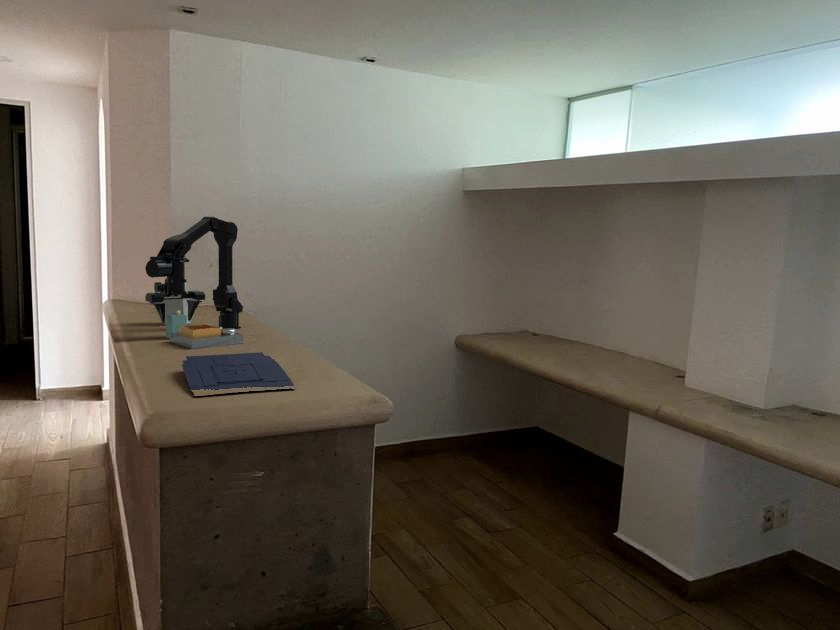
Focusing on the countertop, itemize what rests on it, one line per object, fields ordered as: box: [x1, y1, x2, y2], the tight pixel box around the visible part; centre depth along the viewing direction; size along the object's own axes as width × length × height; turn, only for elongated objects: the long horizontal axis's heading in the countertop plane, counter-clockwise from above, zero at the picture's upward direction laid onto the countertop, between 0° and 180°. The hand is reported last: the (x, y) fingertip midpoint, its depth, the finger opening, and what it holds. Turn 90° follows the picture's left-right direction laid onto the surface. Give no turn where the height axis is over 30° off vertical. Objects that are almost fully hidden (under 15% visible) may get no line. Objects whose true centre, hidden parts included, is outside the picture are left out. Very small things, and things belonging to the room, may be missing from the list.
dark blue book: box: [181, 351, 295, 391], centre depth 167 cm, size 24×30×4 cm
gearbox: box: [170, 323, 244, 350], centre depth 215 cm, size 18×15×6 cm
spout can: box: [165, 310, 188, 340], centre depth 222 cm, size 5×5×10 cm
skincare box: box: [163, 282, 192, 326], centre depth 249 cm, size 8×7×16 cm
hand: (176, 321), depth 222 cm, fingers open, 9 cm apart
